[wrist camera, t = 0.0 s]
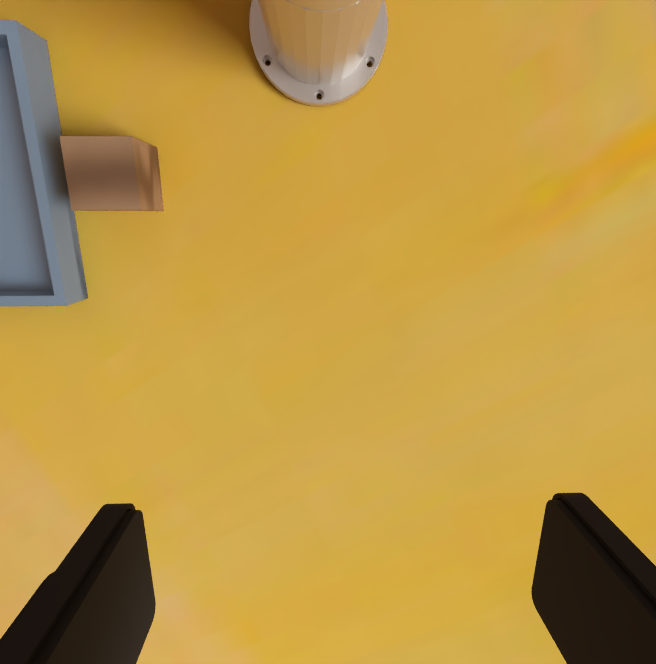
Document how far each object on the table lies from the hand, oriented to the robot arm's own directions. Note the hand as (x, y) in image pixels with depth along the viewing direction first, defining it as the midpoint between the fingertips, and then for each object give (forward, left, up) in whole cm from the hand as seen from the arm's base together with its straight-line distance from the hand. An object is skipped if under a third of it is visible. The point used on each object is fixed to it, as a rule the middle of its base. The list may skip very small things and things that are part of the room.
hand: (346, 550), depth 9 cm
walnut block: (-11, -19, -37) cm, 43 cm away
